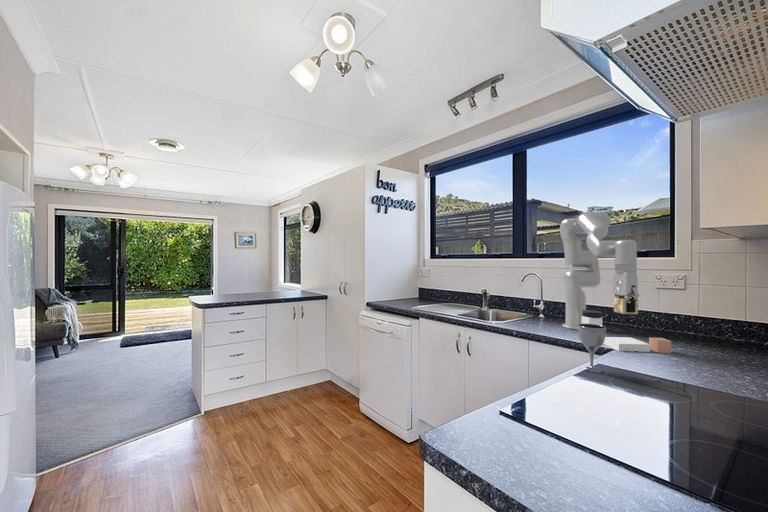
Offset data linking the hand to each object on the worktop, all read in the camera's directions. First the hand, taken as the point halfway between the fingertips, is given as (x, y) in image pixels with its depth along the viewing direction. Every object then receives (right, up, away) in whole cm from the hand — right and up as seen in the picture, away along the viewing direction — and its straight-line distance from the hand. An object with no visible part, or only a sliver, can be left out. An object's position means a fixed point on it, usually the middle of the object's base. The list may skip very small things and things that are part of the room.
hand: (625, 310), depth 141 cm
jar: (-1, -16, +21) cm, 26 cm away
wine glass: (-33, -16, -29) cm, 46 cm away
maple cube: (0, -1, 0) cm, 1 cm away
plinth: (0, -16, 0) cm, 16 cm away
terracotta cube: (+10, -16, -5) cm, 20 cm away
